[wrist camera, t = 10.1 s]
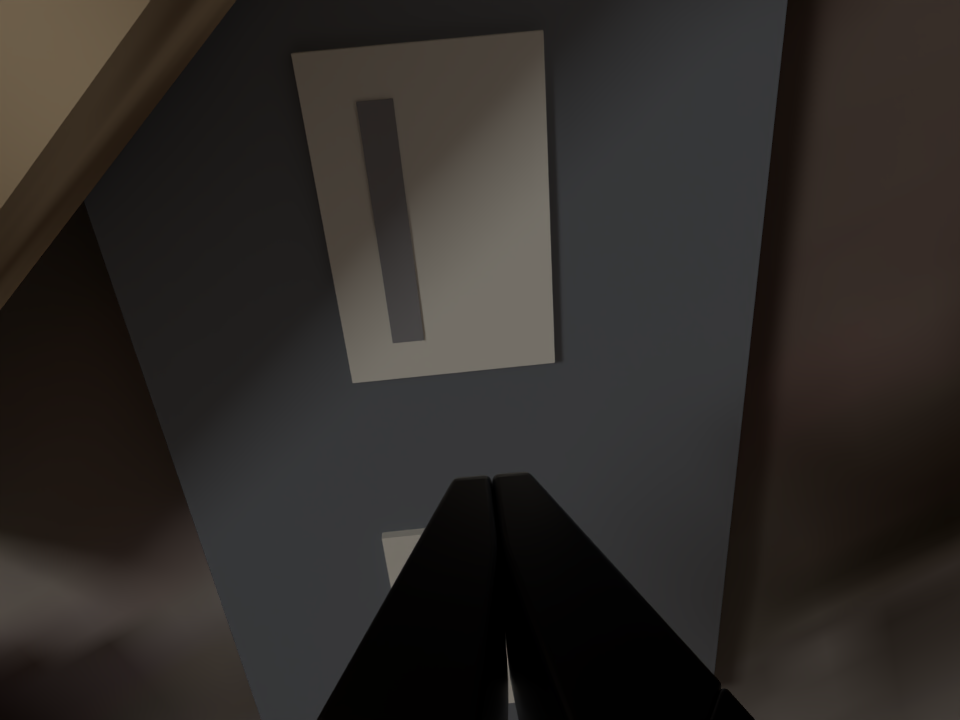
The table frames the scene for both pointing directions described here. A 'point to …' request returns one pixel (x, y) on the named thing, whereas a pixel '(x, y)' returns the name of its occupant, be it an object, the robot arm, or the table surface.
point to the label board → (446, 292)
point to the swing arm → (78, 103)
